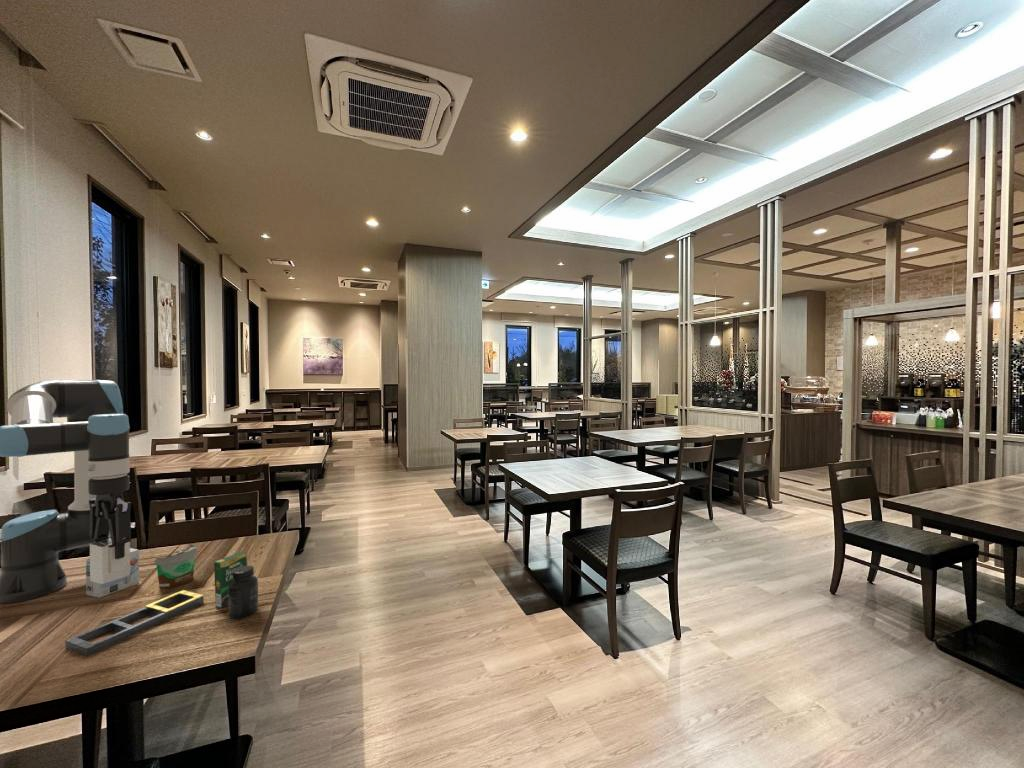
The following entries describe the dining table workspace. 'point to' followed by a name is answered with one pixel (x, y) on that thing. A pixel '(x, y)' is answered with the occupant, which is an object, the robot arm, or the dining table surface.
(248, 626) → the dining table surface
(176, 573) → the food container
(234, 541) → the dining table surface
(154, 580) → the dining table surface
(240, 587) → the supplement bottle
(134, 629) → the rail
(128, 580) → the light bulb box
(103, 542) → the white rectangular block
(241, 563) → the coffee box
